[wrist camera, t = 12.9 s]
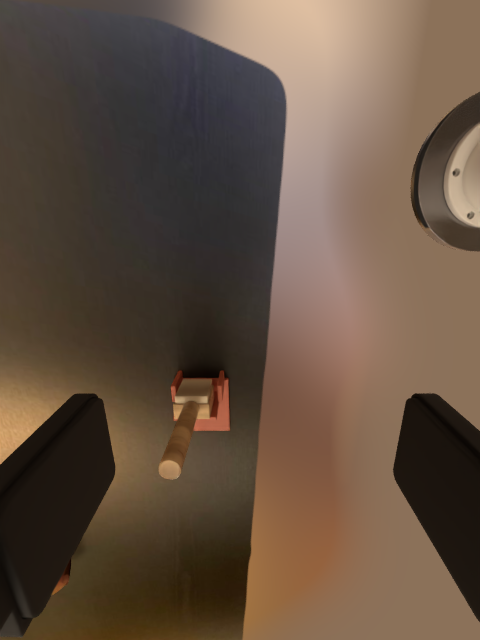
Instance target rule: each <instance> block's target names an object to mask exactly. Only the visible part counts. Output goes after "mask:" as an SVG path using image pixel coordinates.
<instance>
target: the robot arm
mask: <svg viewBox="0 0 480 640" xmlns="http://www.w3.org/2000/svg"><path fill="white" fill-rule="evenodd" d="M443 188H444V195H445V199H446V202H447V205H448V207H449V209H450V210H451V212H452V213H453V215H454V216H455V217H456V218H458V219H459V220H460V221H462V222H463V223H465V224H467V225H470V226H473V227H478V228H480V122H479V123H478V124H476V125H475V126H474V127H473V128H471V129H470V130H469V131H468V132H467V133H466V134H465V135H464V136H463V138H462V139H461V140H460V141H459V142H458V144H457V145H456V147H455V149H454V150H453V152H452V154H451V156H450V158H449V161H448V163H447V166H446V170H445V174H444V186H443ZM393 472H394V477H395V480H396V482H397V484H398V486H399V487H400V489H401V491H402V493H403V494H404V496H405V498H406V499H407V501H408V503H409V504H410V506H411V508H412V509H413V511H414V513H415V515H416V516H417V518H418V520H419V521H420V523H421V525H422V526H423V528H424V530H425V532H426V533H427V535H428V537H429V538H430V540H431V542H432V543H433V545H434V547H435V548H436V550H437V552H438V554H439V555H440V557H441V559H442V560H443V562H444V564H445V566H446V567H447V569H448V571H449V572H450V574H451V576H452V577H453V579H454V581H455V582H456V584H457V586H458V588H459V589H460V591H461V593H462V594H463V596H464V597H465V599H466V601H467V603H468V604H469V606H470V608H471V609H472V611H473V613H474V615H475V616H476V618H477V619H478V621H479V622H480V431H479V430H478V429H477V428H475V427H474V426H473V425H472V424H471V423H470V422H469V421H468V420H466V419H465V418H464V417H463V416H462V415H461V414H459V413H458V412H457V411H456V410H455V409H454V408H453V407H451V406H450V405H449V404H448V403H447V402H446V401H444V400H443V399H442V398H441V397H440V396H439V395H437V394H414V395H412V397H411V398H409V399H408V400H407V401H406V404H405V410H404V415H403V420H402V425H401V431H400V436H399V441H398V446H397V452H396V457H395V462H394V468H393ZM114 475H115V462H114V457H113V452H112V446H111V441H110V436H109V430H108V425H107V420H106V414H105V409H104V403H103V400H102V399H100V398H98V396H97V395H96V394H74V395H73V396H72V397H70V398H69V399H68V400H67V401H66V402H65V403H64V404H63V405H62V406H61V407H60V408H59V409H58V410H57V411H56V412H55V413H54V414H53V415H52V416H51V417H50V418H49V419H47V420H46V421H45V422H44V423H43V424H42V425H41V426H40V427H39V428H38V429H37V430H36V431H35V432H34V433H33V434H32V435H31V436H30V437H29V438H28V439H27V440H26V441H24V442H23V443H22V444H21V445H20V446H19V447H18V448H17V449H16V450H15V451H14V452H13V453H12V454H11V455H10V456H9V457H8V458H7V459H6V460H5V461H4V462H3V463H2V464H0V637H23V635H24V634H25V632H26V630H27V628H28V626H29V624H30V623H31V621H32V619H33V618H35V617H37V616H39V615H40V613H41V612H42V611H43V609H44V608H45V606H46V604H47V602H48V600H49V599H50V597H51V595H52V593H53V591H54V589H55V587H56V585H57V584H58V582H59V580H60V578H61V576H62V574H63V572H64V570H65V569H66V567H67V565H68V563H69V561H70V559H71V557H72V555H73V554H74V552H75V550H76V548H77V546H78V544H79V542H80V540H81V539H82V537H83V535H84V533H85V531H86V529H87V527H88V525H89V524H90V522H91V520H92V518H93V516H94V514H95V512H96V510H97V509H98V507H99V505H100V503H101V501H102V499H103V497H104V495H105V494H106V492H107V490H108V488H109V486H110V484H111V482H112V480H113V478H114Z"/></svg>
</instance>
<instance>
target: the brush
mask: <svg viewBox="0 0 480 640" xmlns="http://www.w3.org/2000/svg"><path fill="white" fill-rule="evenodd" d="M213 402H214V385H212V379H183V381H182V383H181V385H180V387H179V389H178V391H177V393H176V395H175V402H174V404H173V409H174V419H178V420H177V423H176V425H175V428H174V430H173V432H172V435H171V437H170V440H169V442H168V445H167V447H166V450H165V452H164V455H163V457H162V459H161V462H160V464H159V467H158V471H159V473H160V475H161V476H162V477H163V478H165V479H175V478H177V477H178V476H179V475H180V473H181V470H182V467H183V463H184V460H185V457H186V453H187V450H188V447H189V443H190V440H191V437H192V433H193V430H194V426H195V423H196V420H197V419H210V415H211V411H212V406H213Z"/></svg>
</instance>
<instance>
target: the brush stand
mask: <svg viewBox="0 0 480 640" xmlns="http://www.w3.org/2000/svg"><path fill="white" fill-rule="evenodd" d="M183 379H212V385H214V402H213V406H212V411H211V415H210V419H197V420H196V423H195V426H194V430H193V431H230V415H229V381H228V378H224V371H220V374H219V378H183V374H182V371H178V373H177V375H176V377H175V379H174V381H173V383H172V385H171V392H172V401H173V402H175V395H176V393H177V391H178V389H179V387H180V385H181V383H182V381H183ZM173 418H174V417H173ZM177 420H178V419H174V421H177Z"/></svg>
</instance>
